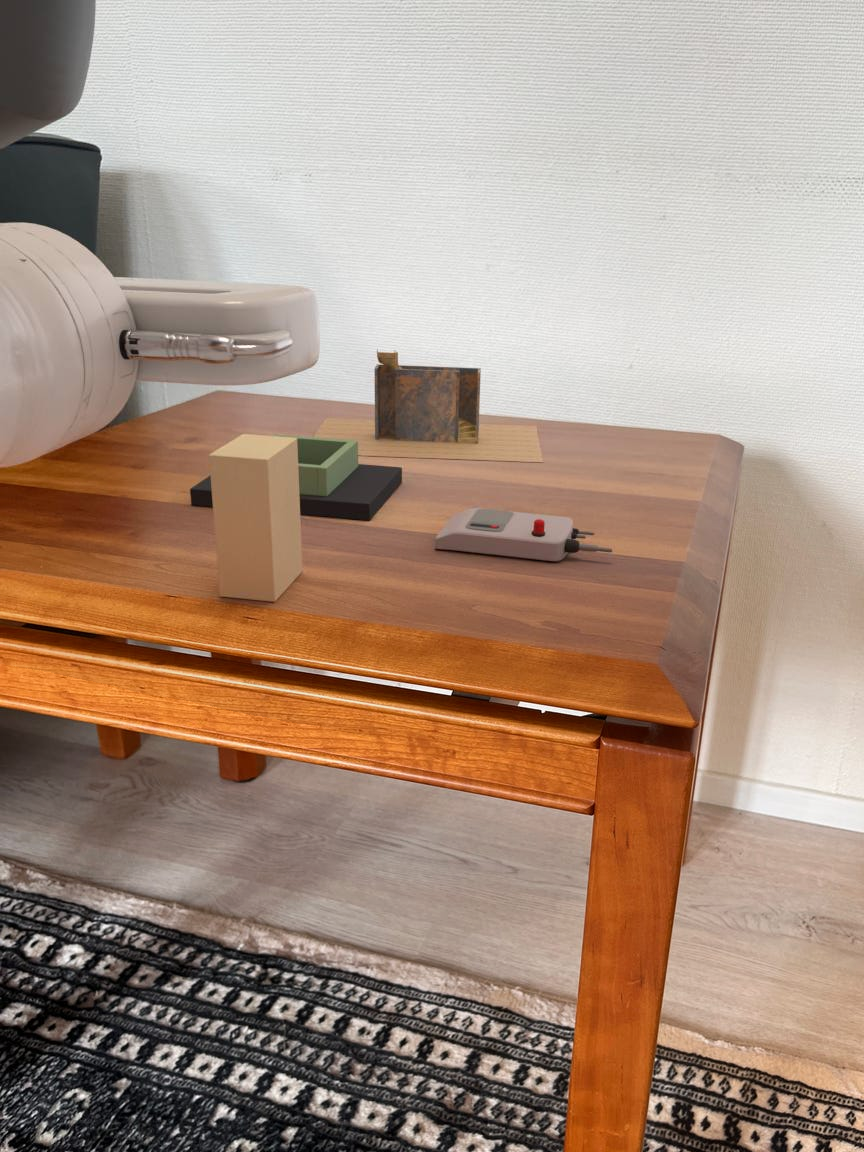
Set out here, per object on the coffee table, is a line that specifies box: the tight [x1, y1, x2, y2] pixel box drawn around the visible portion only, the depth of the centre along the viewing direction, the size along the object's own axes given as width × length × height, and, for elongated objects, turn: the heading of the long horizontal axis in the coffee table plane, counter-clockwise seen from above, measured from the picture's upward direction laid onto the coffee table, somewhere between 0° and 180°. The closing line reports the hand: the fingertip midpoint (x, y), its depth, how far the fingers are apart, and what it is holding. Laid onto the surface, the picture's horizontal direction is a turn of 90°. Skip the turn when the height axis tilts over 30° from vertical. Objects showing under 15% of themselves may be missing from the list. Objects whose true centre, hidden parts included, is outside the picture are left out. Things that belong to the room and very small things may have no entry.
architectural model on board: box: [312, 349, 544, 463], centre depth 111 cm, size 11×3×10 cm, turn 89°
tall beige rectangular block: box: [208, 433, 303, 603], centre depth 71 cm, size 4×6×10 cm, turn 171°
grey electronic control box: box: [434, 507, 613, 562], centre depth 82 cm, size 7×16×3 cm, turn 77°
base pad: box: [189, 434, 403, 521], centre depth 92 cm, size 16×12×4 cm
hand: (165, 305), depth 54 cm, fingers open, 8 cm apart
